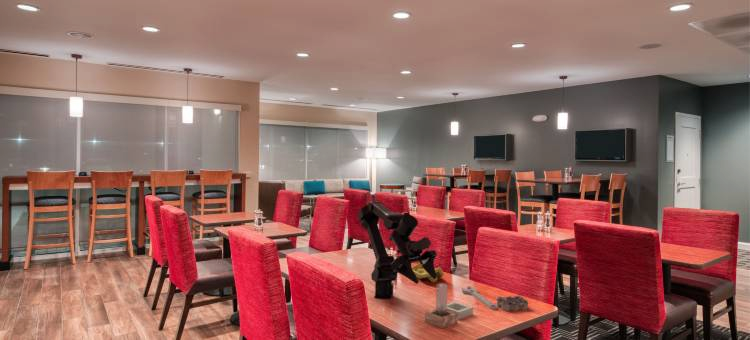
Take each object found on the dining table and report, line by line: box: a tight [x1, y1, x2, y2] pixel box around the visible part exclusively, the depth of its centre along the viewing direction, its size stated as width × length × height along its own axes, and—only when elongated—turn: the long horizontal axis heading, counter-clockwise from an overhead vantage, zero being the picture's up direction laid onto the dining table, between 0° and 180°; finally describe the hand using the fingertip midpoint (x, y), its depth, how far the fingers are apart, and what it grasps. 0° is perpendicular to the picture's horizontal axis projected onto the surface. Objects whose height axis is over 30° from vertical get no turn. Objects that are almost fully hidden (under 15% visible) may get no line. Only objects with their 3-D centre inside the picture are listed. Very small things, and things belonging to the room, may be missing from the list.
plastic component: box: [411, 262, 445, 283], centre depth 206 cm, size 20×7×10 cm
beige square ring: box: [424, 308, 458, 329], centre depth 153 cm, size 8×7×3 cm
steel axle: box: [435, 282, 448, 317], centre depth 152 cm, size 4×4×12 cm
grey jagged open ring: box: [495, 294, 530, 312], centre depth 169 cm, size 11×8×4 cm
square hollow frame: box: [447, 301, 474, 321], centre depth 161 cm, size 8×8×2 cm
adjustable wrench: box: [461, 285, 498, 311], centre depth 178 cm, size 25×6×2 cm, turn 9°
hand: (426, 280), depth 157 cm, fingers open, 9 cm apart
